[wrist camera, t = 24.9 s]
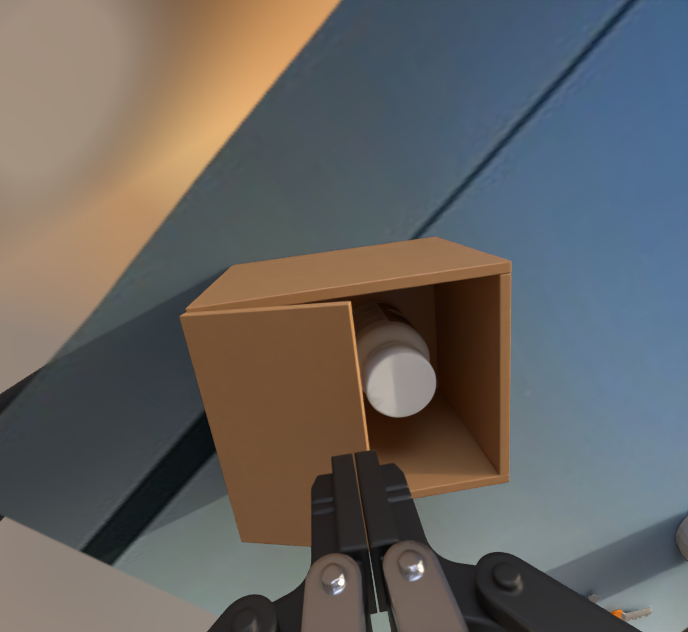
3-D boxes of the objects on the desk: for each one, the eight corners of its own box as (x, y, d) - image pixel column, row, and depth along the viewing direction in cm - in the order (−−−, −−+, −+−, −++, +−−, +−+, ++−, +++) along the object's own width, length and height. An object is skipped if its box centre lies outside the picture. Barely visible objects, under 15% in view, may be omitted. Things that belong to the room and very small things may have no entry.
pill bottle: (419, 337, 26) (463, 394, 18) (365, 373, 26) (387, 442, 19) (384, 285, 24) (417, 324, 17) (328, 324, 25) (336, 378, 17)
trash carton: (265, 417, 27) (243, 528, 18) (231, 265, 24) (184, 308, 15) (443, 388, 28) (509, 482, 19) (436, 236, 24) (512, 260, 15)
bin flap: (245, 535, 18) (241, 542, 17) (184, 312, 14) (178, 316, 14) (381, 543, 16) (380, 551, 16) (351, 300, 13) (348, 304, 13)
